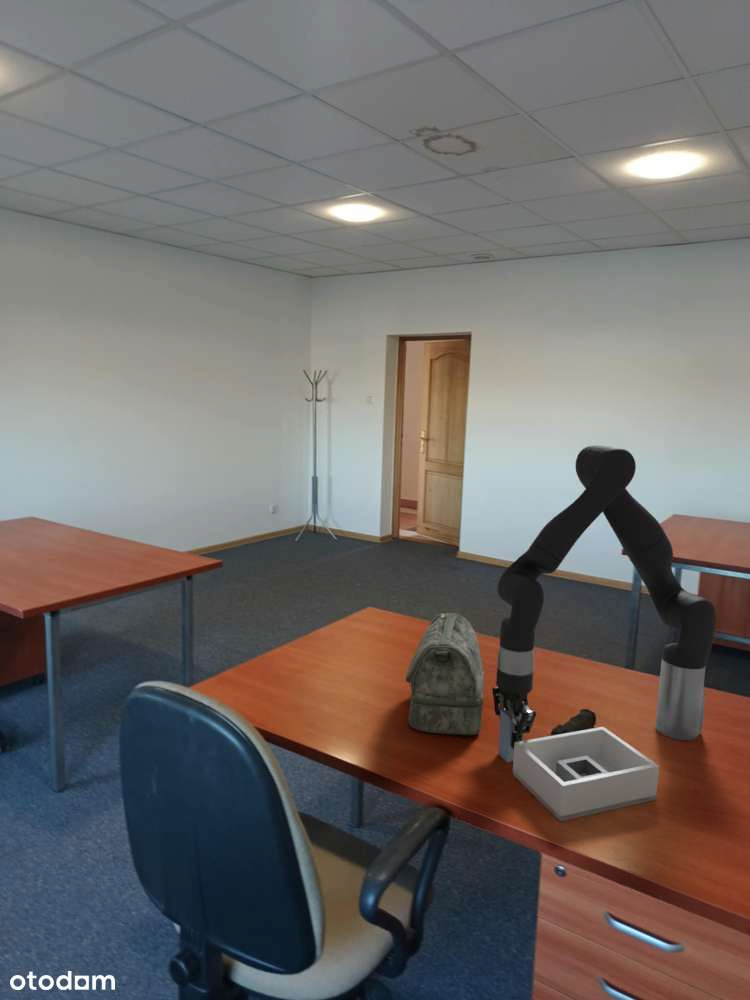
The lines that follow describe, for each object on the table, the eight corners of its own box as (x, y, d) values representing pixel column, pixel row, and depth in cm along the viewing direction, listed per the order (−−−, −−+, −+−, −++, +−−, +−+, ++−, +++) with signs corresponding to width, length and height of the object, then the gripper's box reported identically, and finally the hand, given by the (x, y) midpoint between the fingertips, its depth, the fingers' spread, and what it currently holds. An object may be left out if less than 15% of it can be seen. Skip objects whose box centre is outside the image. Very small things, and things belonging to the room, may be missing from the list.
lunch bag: (416, 685, 174) (419, 606, 170) (484, 693, 170) (489, 613, 167) (400, 732, 148) (403, 641, 145) (480, 743, 145) (485, 649, 142)
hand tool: (580, 721, 157) (581, 703, 156) (596, 727, 154) (597, 709, 153) (538, 749, 143) (539, 729, 143) (554, 756, 141) (555, 736, 140)
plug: (512, 751, 141) (515, 707, 140) (521, 759, 138) (524, 715, 137) (498, 753, 140) (500, 710, 139) (507, 762, 137) (509, 717, 135)
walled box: (600, 757, 140) (603, 726, 139) (655, 799, 125) (659, 765, 124) (512, 774, 133) (514, 742, 132) (560, 821, 118) (562, 786, 117)
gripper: (550, 677, 131) (544, 757, 133) (512, 652, 144) (508, 725, 147) (518, 682, 128) (513, 763, 131) (482, 656, 142) (478, 729, 144)
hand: (510, 742), depth 139 cm, fingers closed on plug, 3 cm apart
